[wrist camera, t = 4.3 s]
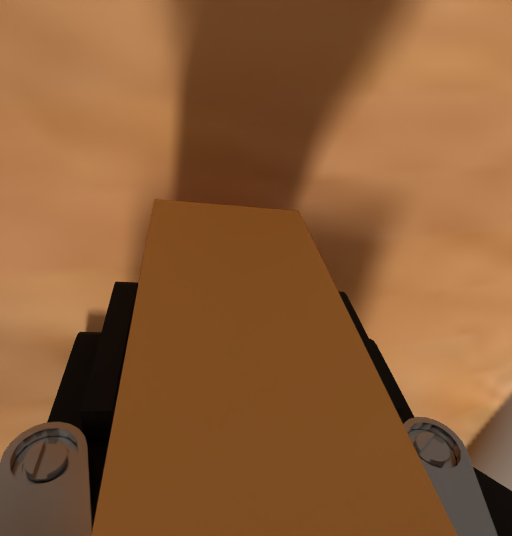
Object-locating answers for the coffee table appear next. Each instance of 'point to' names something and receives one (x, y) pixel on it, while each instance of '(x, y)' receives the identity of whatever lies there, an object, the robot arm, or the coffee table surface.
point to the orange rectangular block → (252, 394)
